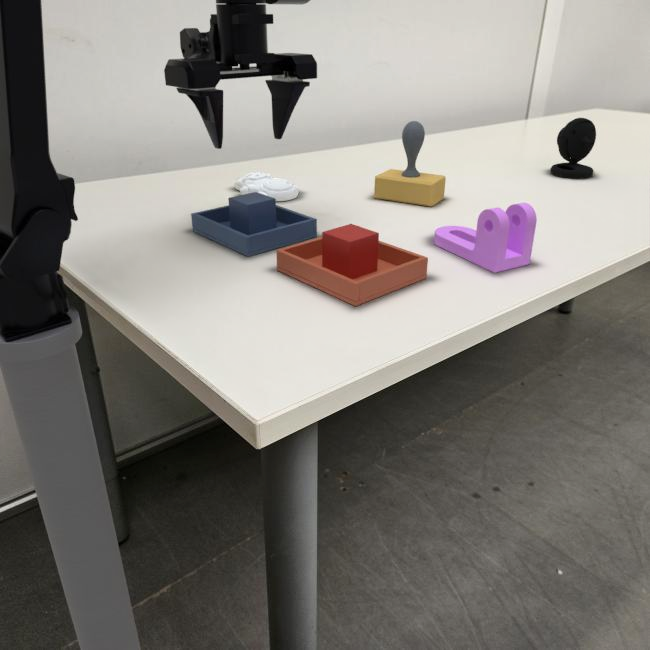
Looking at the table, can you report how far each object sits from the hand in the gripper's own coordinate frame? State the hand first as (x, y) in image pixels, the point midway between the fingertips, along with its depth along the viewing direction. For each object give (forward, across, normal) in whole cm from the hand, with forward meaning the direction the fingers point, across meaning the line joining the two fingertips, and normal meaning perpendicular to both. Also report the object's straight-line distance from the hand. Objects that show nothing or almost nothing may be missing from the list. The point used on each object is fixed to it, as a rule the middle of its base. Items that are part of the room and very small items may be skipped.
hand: (249, 143), depth 77 cm
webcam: (+12, -64, +11) cm, 66 cm away
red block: (+12, 0, +19) cm, 22 cm away
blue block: (+12, 0, 0) cm, 12 cm away
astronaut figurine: (+12, -14, -16) cm, 25 cm away
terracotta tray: (+12, 0, +19) cm, 22 cm away
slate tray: (+12, 0, 0) cm, 12 cm away
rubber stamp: (+12, -29, +2) cm, 32 cm away
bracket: (+12, -17, +24) cm, 32 cm away
